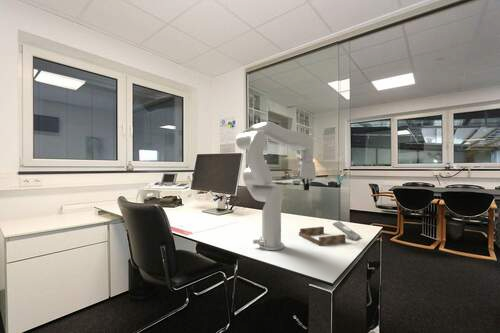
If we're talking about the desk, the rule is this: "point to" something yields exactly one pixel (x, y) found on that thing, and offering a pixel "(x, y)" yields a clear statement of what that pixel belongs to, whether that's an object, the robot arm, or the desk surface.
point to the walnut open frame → (322, 240)
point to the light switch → (346, 230)
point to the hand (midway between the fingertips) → (306, 190)
